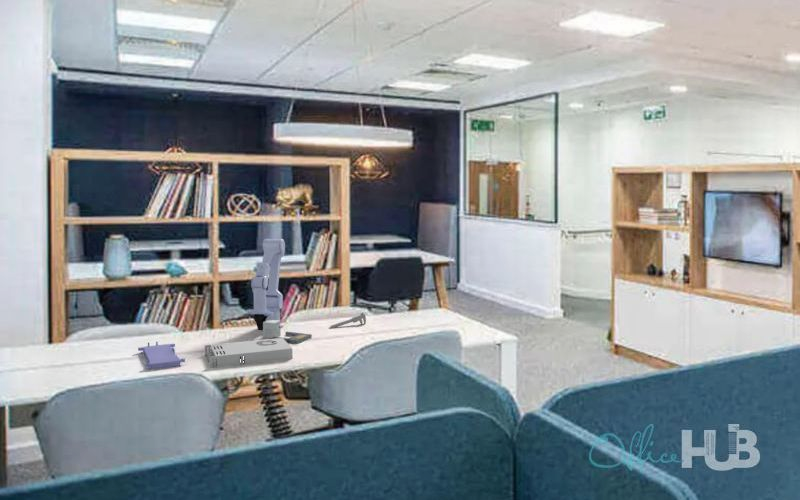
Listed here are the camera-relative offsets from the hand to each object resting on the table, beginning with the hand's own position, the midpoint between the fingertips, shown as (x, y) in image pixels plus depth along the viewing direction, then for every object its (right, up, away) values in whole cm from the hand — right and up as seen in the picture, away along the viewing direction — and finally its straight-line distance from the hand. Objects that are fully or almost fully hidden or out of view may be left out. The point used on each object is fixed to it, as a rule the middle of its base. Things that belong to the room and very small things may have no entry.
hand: (260, 330), depth 304 cm
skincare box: (+6, -3, -2) cm, 7 cm away
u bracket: (+16, -3, -7) cm, 18 cm away
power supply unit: (+3, -8, -36) cm, 37 cm away
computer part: (-33, -7, -39) cm, 51 cm away
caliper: (+40, -1, +20) cm, 44 cm away
